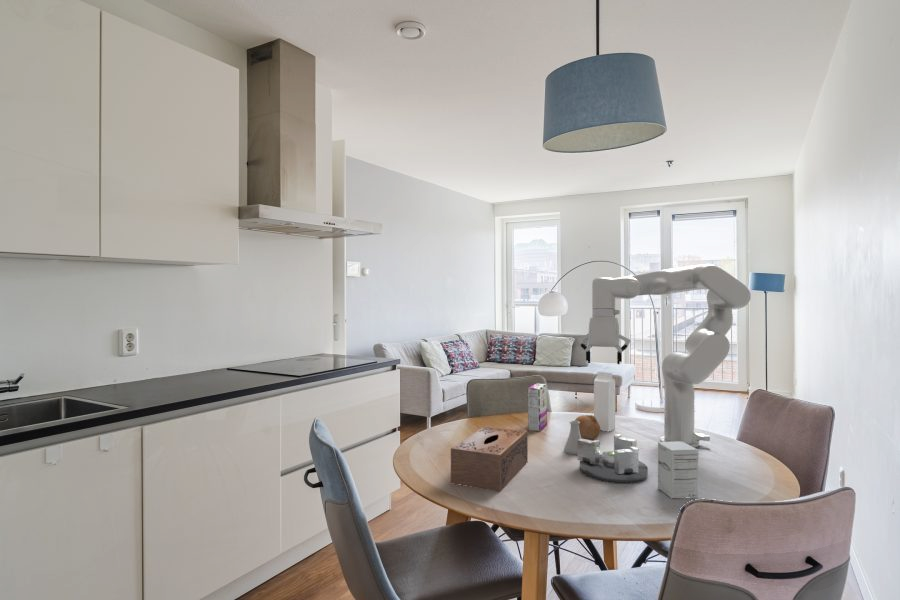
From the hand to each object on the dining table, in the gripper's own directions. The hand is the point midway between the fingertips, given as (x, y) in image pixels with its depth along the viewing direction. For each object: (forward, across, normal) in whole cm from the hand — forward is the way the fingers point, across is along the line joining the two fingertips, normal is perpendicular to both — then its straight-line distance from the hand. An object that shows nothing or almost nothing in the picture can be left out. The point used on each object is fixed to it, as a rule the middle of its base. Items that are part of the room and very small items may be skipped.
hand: (603, 363), depth 174 cm
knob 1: (+26, -6, +20) cm, 34 cm away
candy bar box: (+28, +25, -17) cm, 42 cm away
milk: (+28, 0, -22) cm, 36 cm away
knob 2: (+26, -6, +32) cm, 42 cm away
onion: (+29, +6, -5) cm, 30 cm away
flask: (+29, +9, +10) cm, 32 cm away
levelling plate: (+28, -3, +26) cm, 39 cm away
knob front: (+26, +4, +26) cm, 37 cm away
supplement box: (+28, -19, +38) cm, 51 cm away
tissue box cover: (+29, +31, +37) cm, 56 cm away
